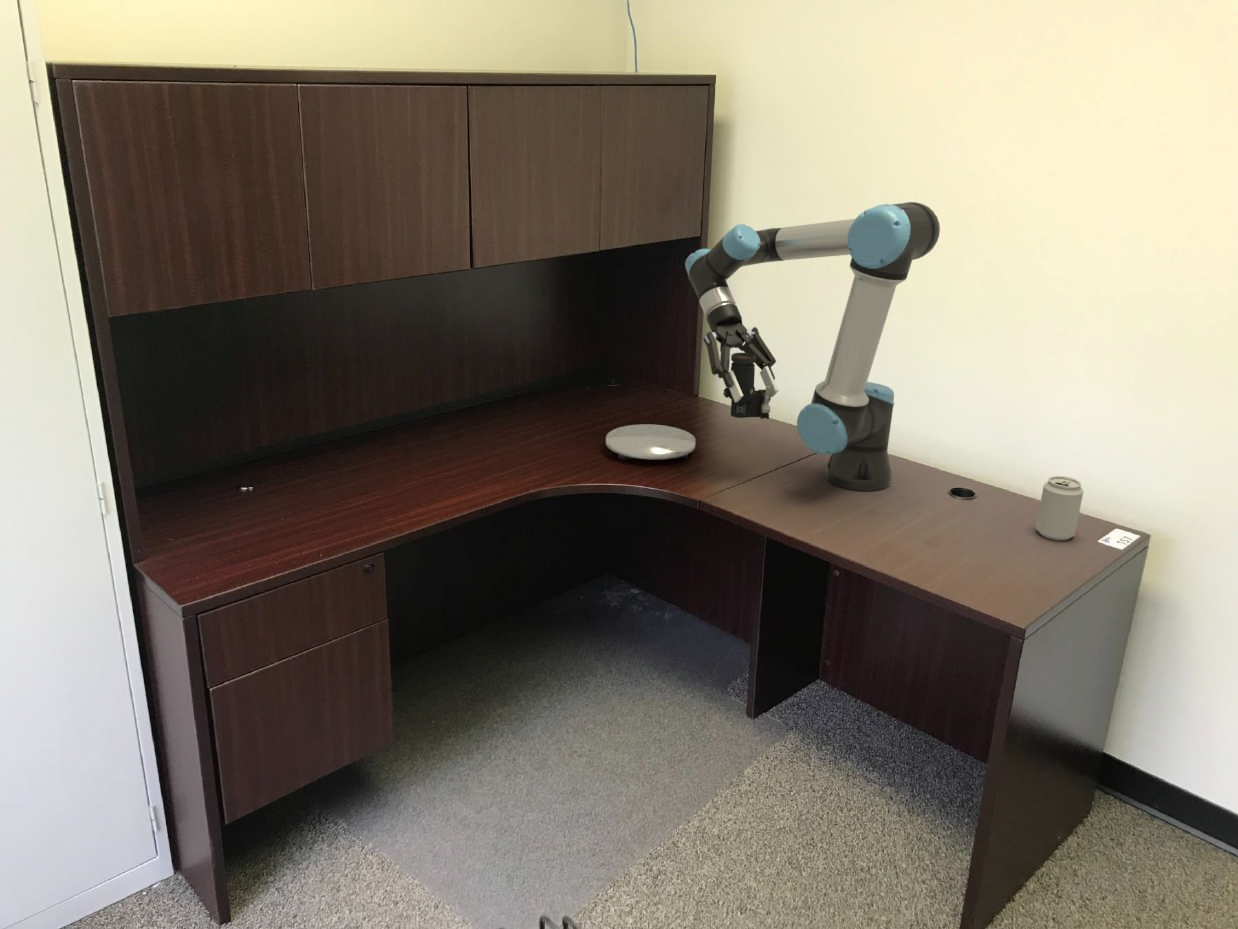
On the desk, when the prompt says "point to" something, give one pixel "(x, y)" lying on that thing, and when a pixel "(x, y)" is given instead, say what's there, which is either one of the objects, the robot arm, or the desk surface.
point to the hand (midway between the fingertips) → (756, 396)
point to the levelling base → (650, 442)
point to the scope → (748, 389)
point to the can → (1059, 508)
